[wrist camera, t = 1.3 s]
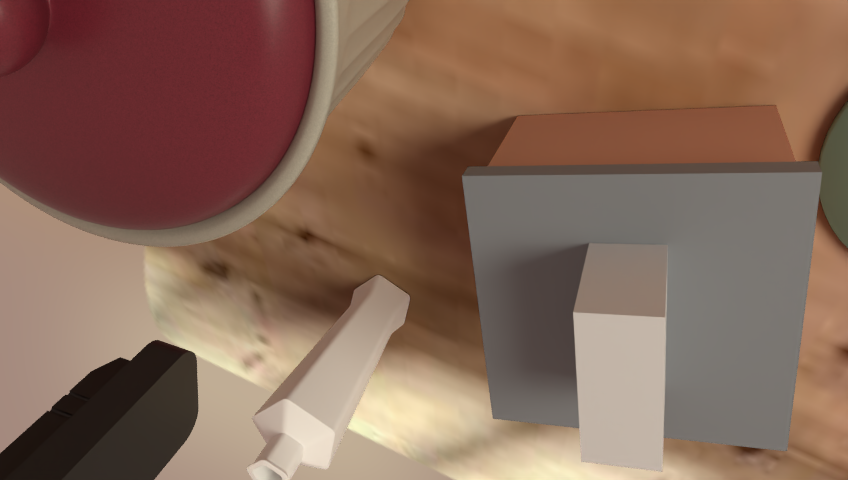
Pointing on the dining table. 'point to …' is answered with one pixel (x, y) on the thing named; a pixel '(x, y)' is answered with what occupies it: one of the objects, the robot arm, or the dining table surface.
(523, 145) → the crate
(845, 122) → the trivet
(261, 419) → the perfume bottle
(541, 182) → the lid
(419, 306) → the dining table surface
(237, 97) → the canister
